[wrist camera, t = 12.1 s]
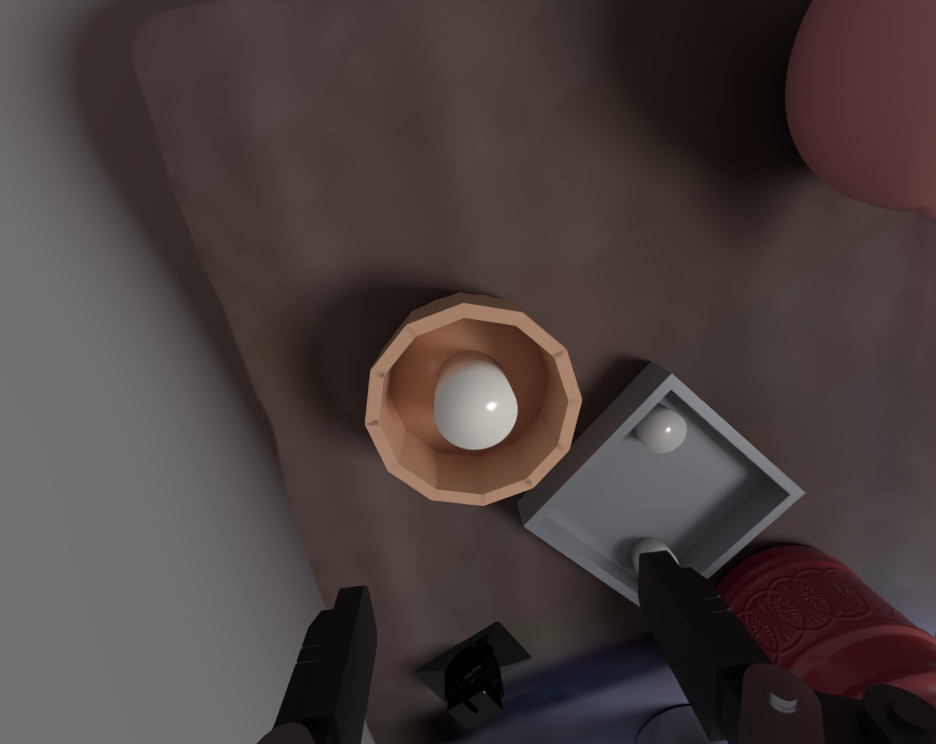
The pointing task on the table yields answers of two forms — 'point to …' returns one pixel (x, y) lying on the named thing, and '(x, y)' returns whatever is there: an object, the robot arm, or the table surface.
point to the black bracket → (474, 674)
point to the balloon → (868, 100)
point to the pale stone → (473, 401)
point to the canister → (828, 624)
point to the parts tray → (656, 488)
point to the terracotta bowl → (413, 392)
